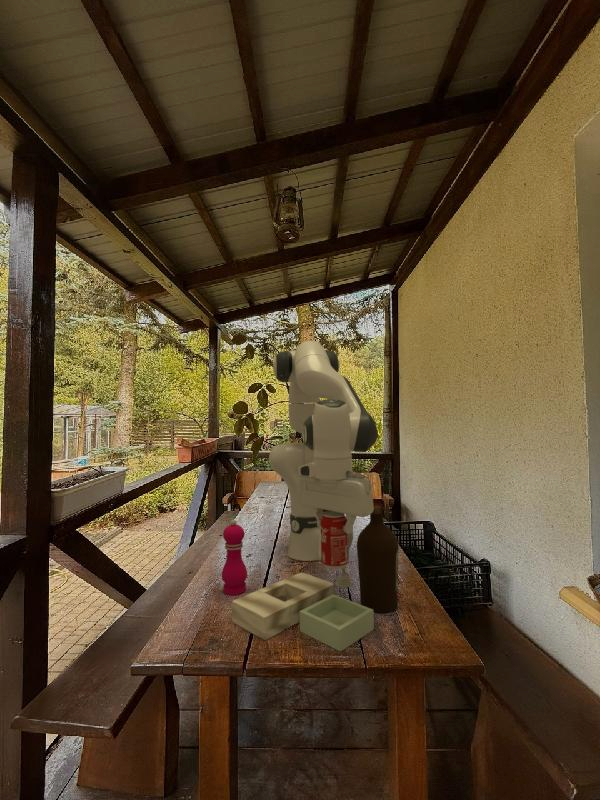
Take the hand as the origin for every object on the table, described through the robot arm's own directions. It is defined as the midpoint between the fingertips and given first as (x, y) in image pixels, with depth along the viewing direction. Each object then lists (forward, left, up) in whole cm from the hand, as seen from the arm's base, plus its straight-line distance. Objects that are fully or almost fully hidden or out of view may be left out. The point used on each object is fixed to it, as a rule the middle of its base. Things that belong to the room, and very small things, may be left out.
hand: (334, 529), depth 97 cm
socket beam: (+2, -15, -23) cm, 27 cm away
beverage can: (0, 0, -8) cm, 8 cm away
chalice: (-21, -15, -23) cm, 35 cm away
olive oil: (-17, 0, -23) cm, 29 cm away
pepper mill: (+3, -35, -23) cm, 42 cm away
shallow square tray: (0, 0, -23) cm, 23 cm away
